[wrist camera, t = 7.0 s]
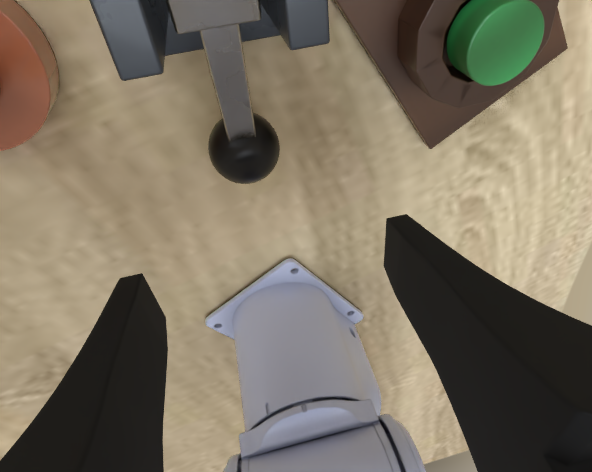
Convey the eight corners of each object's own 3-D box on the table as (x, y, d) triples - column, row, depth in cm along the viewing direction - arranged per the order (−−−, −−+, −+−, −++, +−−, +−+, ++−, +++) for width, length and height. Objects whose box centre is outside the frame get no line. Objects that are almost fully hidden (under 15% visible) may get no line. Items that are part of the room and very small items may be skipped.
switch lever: (273, 133, 19) (287, 188, 18) (210, 146, 19) (221, 202, 18) (245, -183, 9) (274, -98, 8) (105, -163, 9) (115, -73, 8)
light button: (526, 37, 18) (553, 49, 17) (461, 86, 19) (482, 102, 17) (505, -30, 16) (533, -22, 15) (434, 29, 17) (455, 42, 15)
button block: (560, 45, 21) (598, 61, 19) (425, 144, 23) (447, 168, 21) (502, -176, 15) (550, -184, 13) (326, -11, 17) (345, 3, 15)
